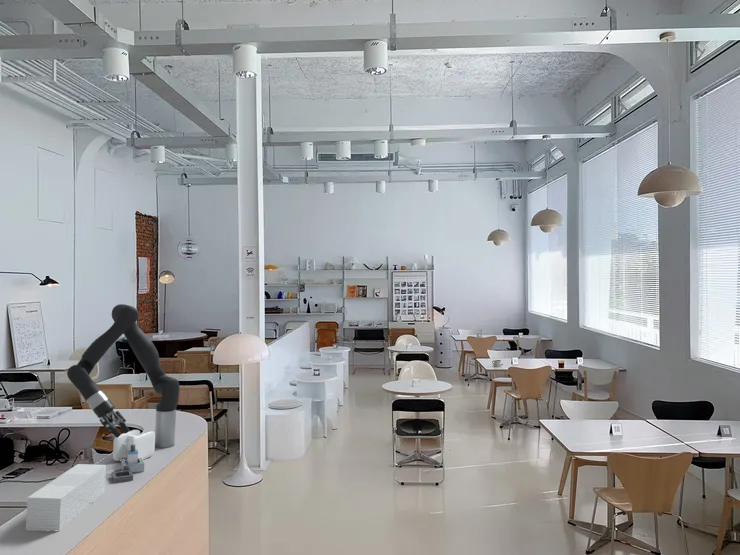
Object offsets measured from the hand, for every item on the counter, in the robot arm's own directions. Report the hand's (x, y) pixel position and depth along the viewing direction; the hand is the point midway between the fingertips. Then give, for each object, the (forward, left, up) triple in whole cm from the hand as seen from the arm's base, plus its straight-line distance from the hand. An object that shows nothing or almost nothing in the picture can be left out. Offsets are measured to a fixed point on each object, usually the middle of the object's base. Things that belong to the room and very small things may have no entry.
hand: (123, 434), depth 236 cm
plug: (+6, +3, -14) cm, 15 cm away
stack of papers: (+36, -22, -15) cm, 45 cm away
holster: (+15, -2, -14) cm, 21 cm away
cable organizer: (-10, +6, -15) cm, 19 cm away
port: (+6, +3, -14) cm, 16 cm away
